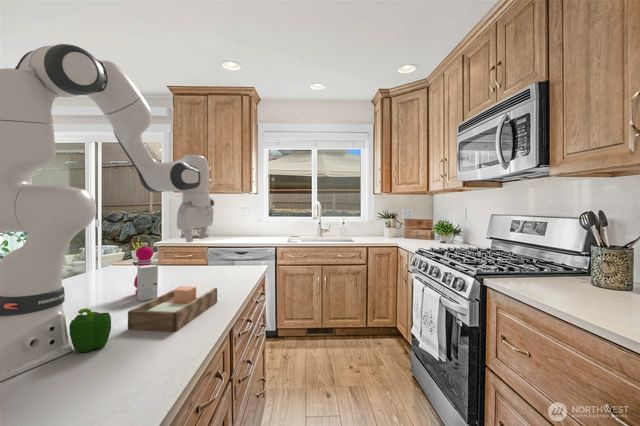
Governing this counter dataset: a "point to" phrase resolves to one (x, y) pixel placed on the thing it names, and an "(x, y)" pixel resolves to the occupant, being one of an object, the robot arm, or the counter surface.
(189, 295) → the block
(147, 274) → the skincare box
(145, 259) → the pepper mill
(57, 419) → the counter surface
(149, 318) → the box
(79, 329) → the bell pepper
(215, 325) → the counter surface
